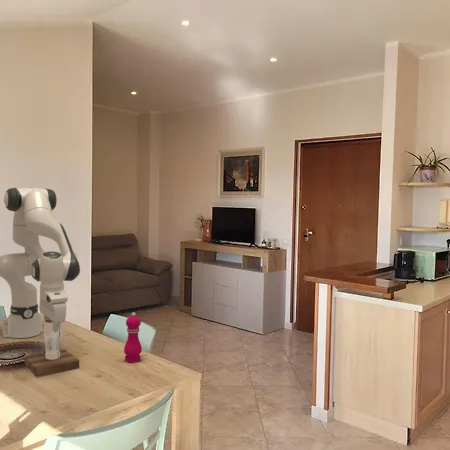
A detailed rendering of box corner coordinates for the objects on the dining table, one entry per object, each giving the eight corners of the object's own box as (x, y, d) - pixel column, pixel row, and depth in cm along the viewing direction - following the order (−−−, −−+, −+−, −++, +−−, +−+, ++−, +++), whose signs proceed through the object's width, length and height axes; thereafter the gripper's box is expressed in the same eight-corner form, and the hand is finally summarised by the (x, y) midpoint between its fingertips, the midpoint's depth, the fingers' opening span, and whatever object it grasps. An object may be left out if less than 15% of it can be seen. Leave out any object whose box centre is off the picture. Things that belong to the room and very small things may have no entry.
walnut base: (24, 364, 184) (24, 356, 184) (64, 356, 194) (64, 349, 194) (37, 377, 172) (37, 369, 172) (79, 367, 182) (79, 360, 182)
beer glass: (46, 362, 178) (47, 324, 178) (40, 357, 184) (41, 319, 183) (64, 358, 183) (65, 321, 182) (58, 353, 188) (58, 317, 187)
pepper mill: (135, 356, 197) (136, 309, 196) (145, 360, 192) (146, 312, 191) (120, 359, 192) (121, 312, 191) (130, 364, 187) (130, 315, 186)
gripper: (35, 289, 187) (35, 323, 189) (52, 300, 172) (52, 336, 173) (51, 288, 191) (51, 321, 192) (69, 298, 175) (68, 334, 177)
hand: (51, 328), depth 182 cm, fingers open, 8 cm apart
